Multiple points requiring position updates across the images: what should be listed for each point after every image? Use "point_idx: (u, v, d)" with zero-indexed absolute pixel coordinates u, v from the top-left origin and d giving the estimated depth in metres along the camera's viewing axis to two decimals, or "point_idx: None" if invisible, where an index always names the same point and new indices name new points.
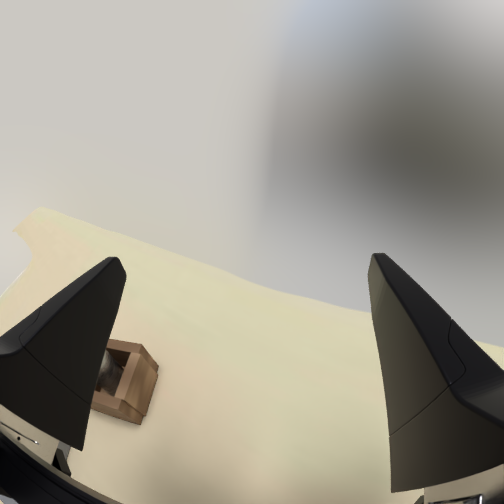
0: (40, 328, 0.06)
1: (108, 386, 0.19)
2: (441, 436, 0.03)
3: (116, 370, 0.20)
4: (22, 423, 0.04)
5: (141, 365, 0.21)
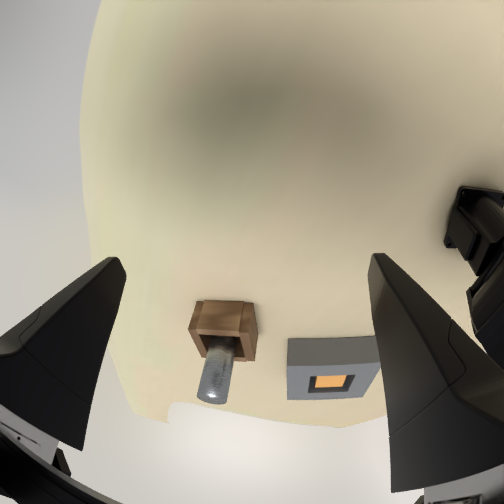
0: (40, 328, 0.06)
1: (233, 338, 0.29)
2: (441, 436, 0.03)
3: (218, 338, 0.28)
4: (22, 423, 0.04)
5: (204, 323, 0.28)
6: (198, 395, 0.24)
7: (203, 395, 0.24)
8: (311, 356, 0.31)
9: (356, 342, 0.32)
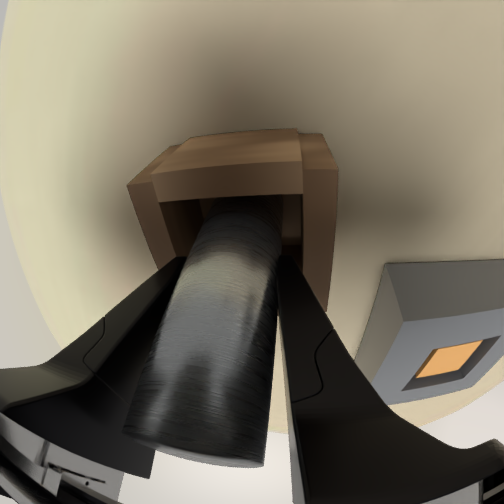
0: (114, 347, 0.05)
1: (273, 223, 0.09)
2: (292, 456, 0.04)
3: (223, 218, 0.09)
4: (87, 463, 0.04)
5: (180, 162, 0.08)
6: (127, 435, 0.04)
7: (149, 440, 0.04)
8: (445, 296, 0.11)
9: (500, 268, 0.12)
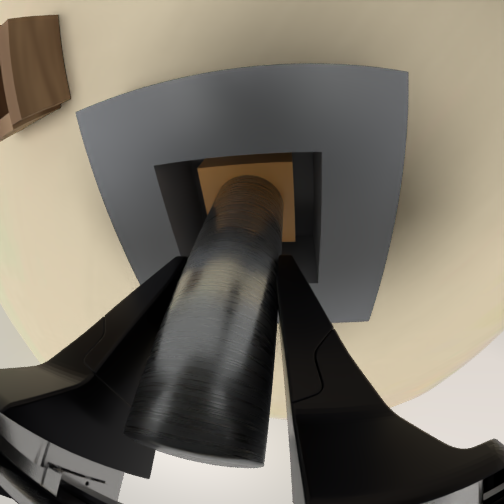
0: (114, 347, 0.05)
1: (273, 224, 0.09)
2: (292, 456, 0.04)
3: (223, 219, 0.09)
4: (87, 463, 0.04)
5: None
6: (128, 436, 0.04)
7: (150, 441, 0.04)
8: None
9: None
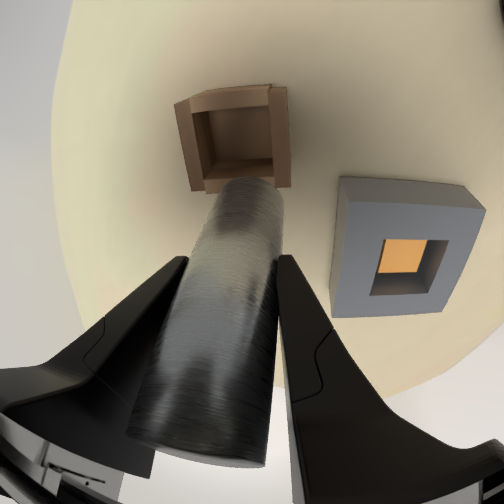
0: (114, 347, 0.05)
1: (273, 225, 0.09)
2: (292, 456, 0.04)
3: (224, 220, 0.09)
4: (87, 463, 0.04)
5: (204, 94, 0.14)
6: (130, 436, 0.04)
7: (152, 441, 0.04)
8: (384, 193, 0.17)
9: (440, 187, 0.18)
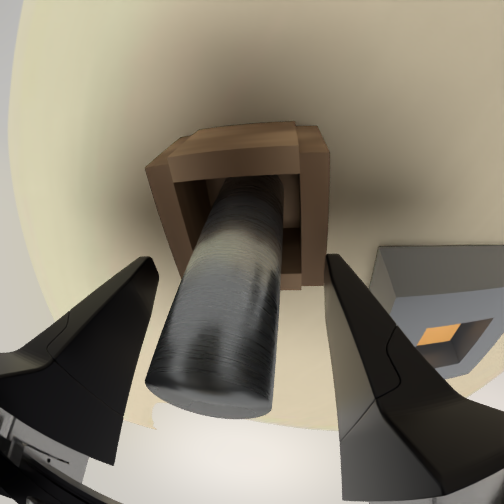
0: (72, 337, 0.05)
1: (275, 205, 0.10)
2: (371, 451, 0.04)
3: (232, 199, 0.10)
4: (51, 443, 0.04)
5: (193, 147, 0.09)
6: (148, 383, 0.05)
7: (171, 382, 0.05)
8: (436, 276, 0.12)
9: (491, 253, 0.13)
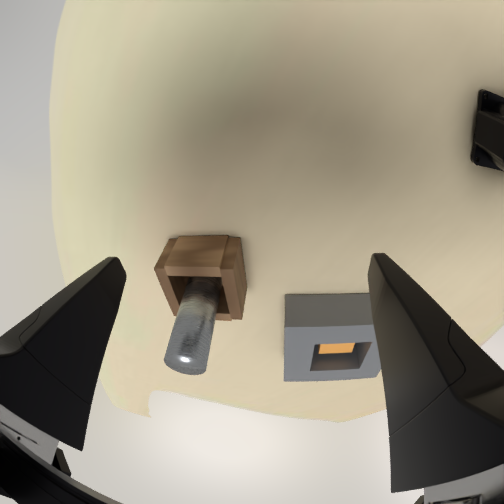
0: (40, 328, 0.06)
1: (215, 284, 0.22)
2: (441, 436, 0.03)
3: (195, 284, 0.22)
4: (22, 423, 0.04)
5: (175, 260, 0.21)
6: (165, 359, 0.17)
7: (173, 358, 0.17)
8: (316, 315, 0.25)
9: None
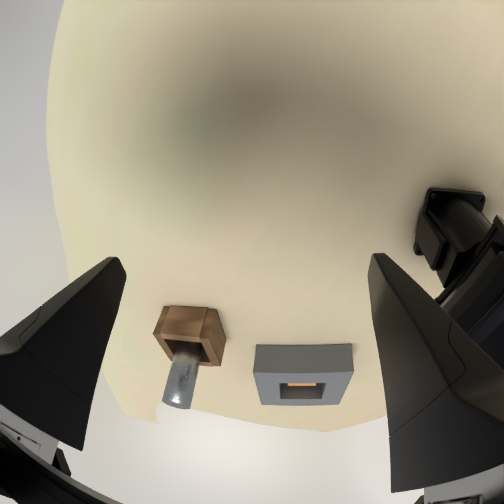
0: (40, 328, 0.06)
1: (198, 345, 0.29)
2: (441, 436, 0.03)
3: (183, 345, 0.28)
4: (22, 423, 0.04)
5: (168, 328, 0.28)
6: (163, 400, 0.24)
7: (168, 400, 0.24)
8: (278, 363, 0.31)
9: (326, 350, 0.31)
